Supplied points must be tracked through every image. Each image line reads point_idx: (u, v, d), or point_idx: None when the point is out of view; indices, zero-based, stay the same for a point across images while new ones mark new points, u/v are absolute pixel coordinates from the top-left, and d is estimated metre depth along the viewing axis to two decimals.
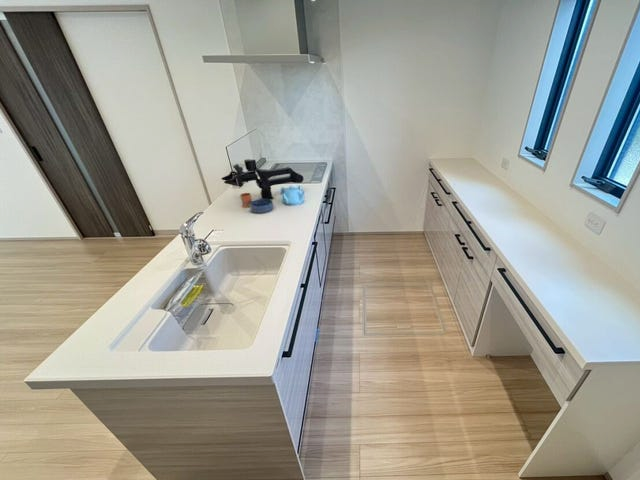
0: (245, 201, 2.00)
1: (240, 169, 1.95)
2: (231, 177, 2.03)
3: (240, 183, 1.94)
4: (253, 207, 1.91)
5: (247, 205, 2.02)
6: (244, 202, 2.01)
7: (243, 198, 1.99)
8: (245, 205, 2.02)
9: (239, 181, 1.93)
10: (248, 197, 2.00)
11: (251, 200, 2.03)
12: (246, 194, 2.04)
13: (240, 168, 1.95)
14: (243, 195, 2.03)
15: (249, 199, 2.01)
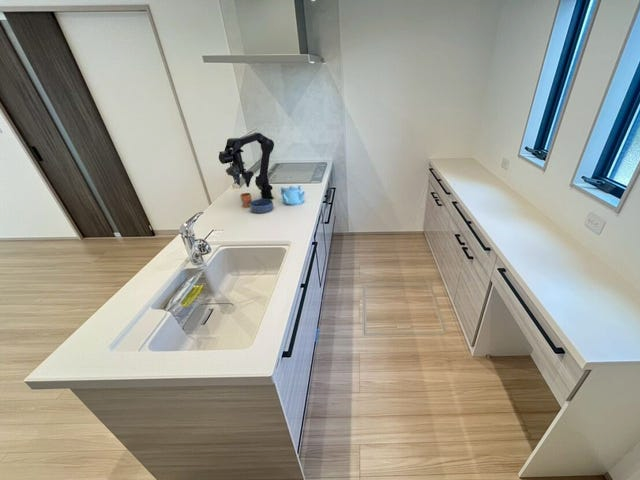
0: (245, 201, 2.00)
1: (234, 170, 1.85)
2: (236, 175, 1.97)
3: (251, 174, 1.90)
4: (253, 207, 1.91)
5: (247, 205, 2.02)
6: (244, 202, 2.01)
7: (243, 198, 1.99)
8: (245, 205, 2.02)
9: (249, 175, 1.89)
10: (248, 197, 2.00)
11: (251, 200, 2.03)
12: (246, 194, 2.04)
13: (234, 170, 1.85)
14: (243, 195, 2.03)
15: (249, 199, 2.01)
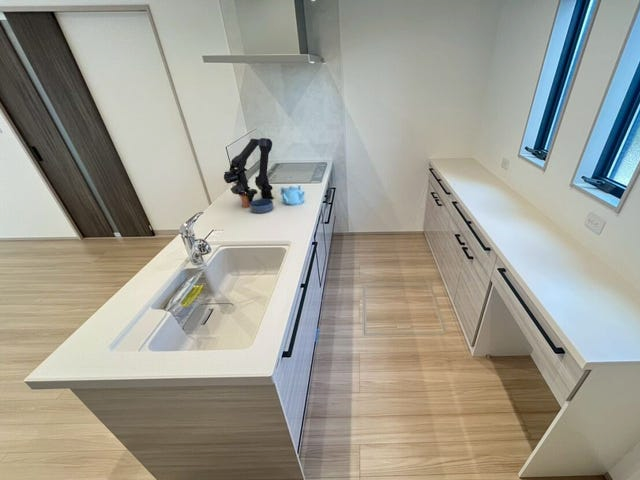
0: (245, 201, 2.00)
1: (239, 189, 1.92)
2: (241, 193, 2.03)
3: (255, 192, 1.96)
4: (253, 207, 1.91)
5: (247, 205, 2.02)
6: (244, 202, 2.01)
7: (243, 198, 1.99)
8: (245, 205, 2.02)
9: (253, 193, 1.95)
10: None
11: None
12: (246, 194, 2.04)
13: (238, 189, 1.91)
14: (243, 195, 2.03)
15: None
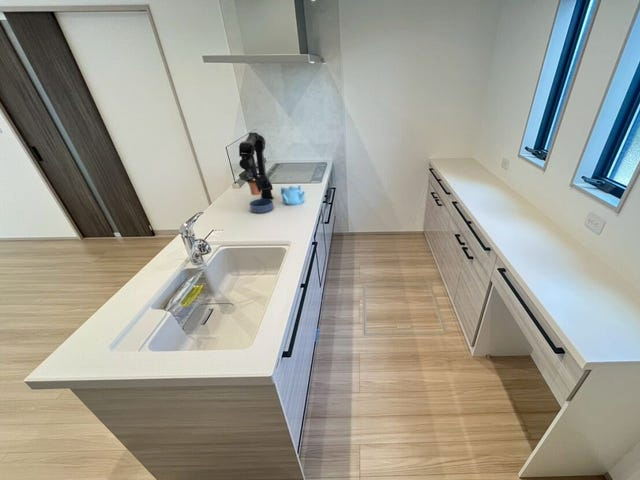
0: (253, 188, 1.89)
1: (248, 175, 1.80)
2: (250, 180, 1.91)
3: (264, 178, 1.84)
4: (253, 207, 1.91)
5: (256, 193, 1.90)
6: (253, 189, 1.89)
7: (252, 185, 1.88)
8: (254, 192, 1.90)
9: (262, 179, 1.84)
10: None
11: None
12: None
13: (247, 175, 1.80)
14: (251, 182, 1.92)
15: None
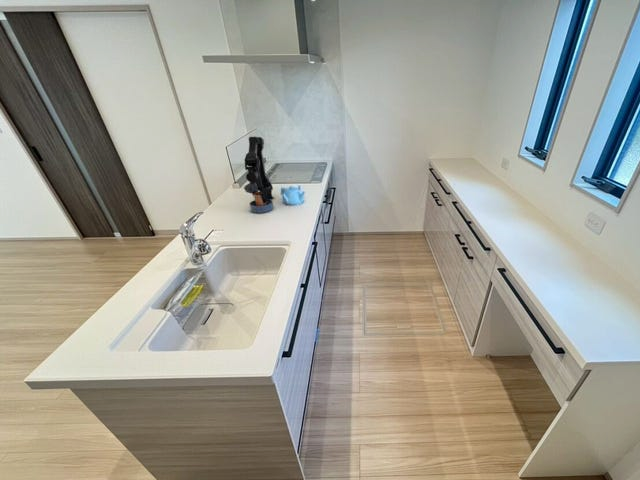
0: (258, 200, 1.92)
1: (253, 188, 1.83)
2: (255, 191, 1.94)
3: (269, 191, 1.87)
4: (253, 207, 1.91)
5: (260, 204, 1.93)
6: (257, 201, 1.92)
7: (256, 197, 1.91)
8: (258, 204, 1.93)
9: (267, 192, 1.87)
10: None
11: None
12: (259, 193, 1.95)
13: (252, 188, 1.83)
14: (256, 194, 1.95)
15: None
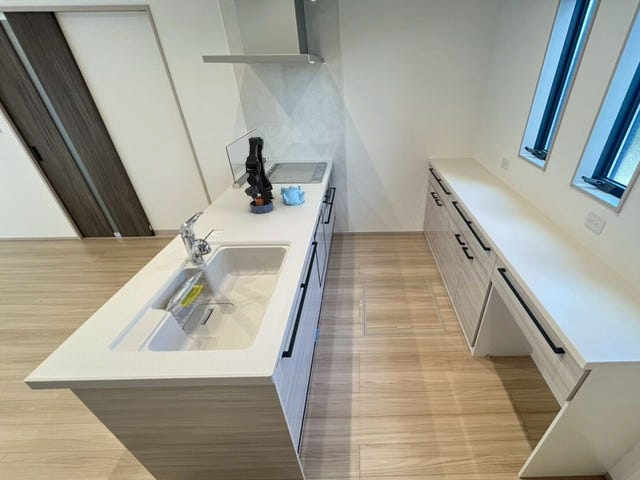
0: (259, 204, 1.93)
1: (254, 191, 1.84)
2: (254, 194, 1.96)
3: (270, 194, 1.88)
4: (253, 207, 1.91)
5: None
6: (258, 205, 1.94)
7: (257, 201, 1.92)
8: None
9: (268, 195, 1.88)
10: (262, 200, 1.93)
11: None
12: (260, 197, 1.97)
13: (253, 191, 1.84)
14: (257, 198, 1.96)
15: (263, 202, 1.94)
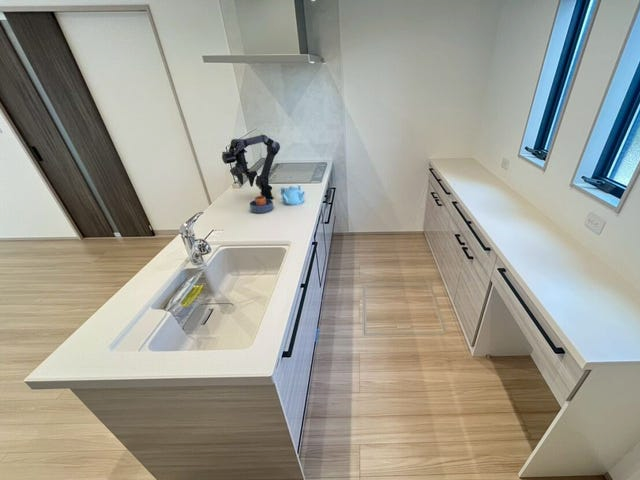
0: (259, 204, 1.93)
1: (239, 170, 1.90)
2: (239, 175, 2.01)
3: (255, 173, 1.94)
4: (253, 207, 1.91)
5: None
6: (258, 205, 1.94)
7: (257, 201, 1.92)
8: None
9: (253, 174, 1.93)
10: (262, 200, 1.93)
11: (265, 203, 1.96)
12: (260, 197, 1.97)
13: (238, 170, 1.89)
14: (257, 198, 1.96)
15: (263, 202, 1.94)
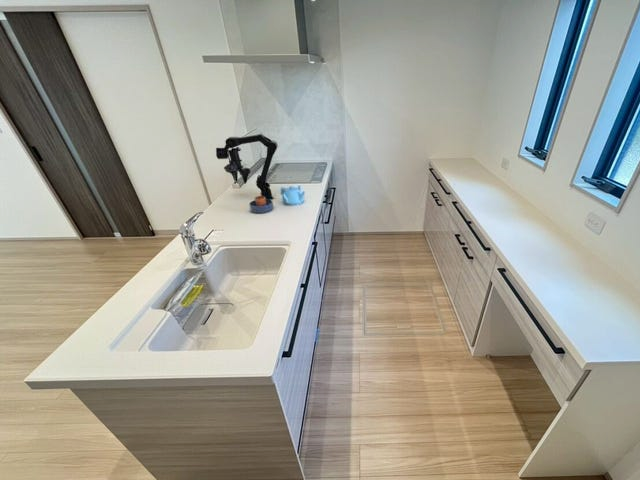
0: (259, 204, 1.93)
1: (232, 167, 1.96)
2: (234, 172, 2.07)
3: (248, 170, 2.00)
4: (253, 207, 1.91)
5: None
6: (258, 205, 1.94)
7: (257, 201, 1.92)
8: None
9: (246, 171, 1.99)
10: (262, 200, 1.93)
11: (265, 203, 1.96)
12: (260, 197, 1.97)
13: (231, 167, 1.95)
14: (257, 198, 1.96)
15: (263, 202, 1.94)
